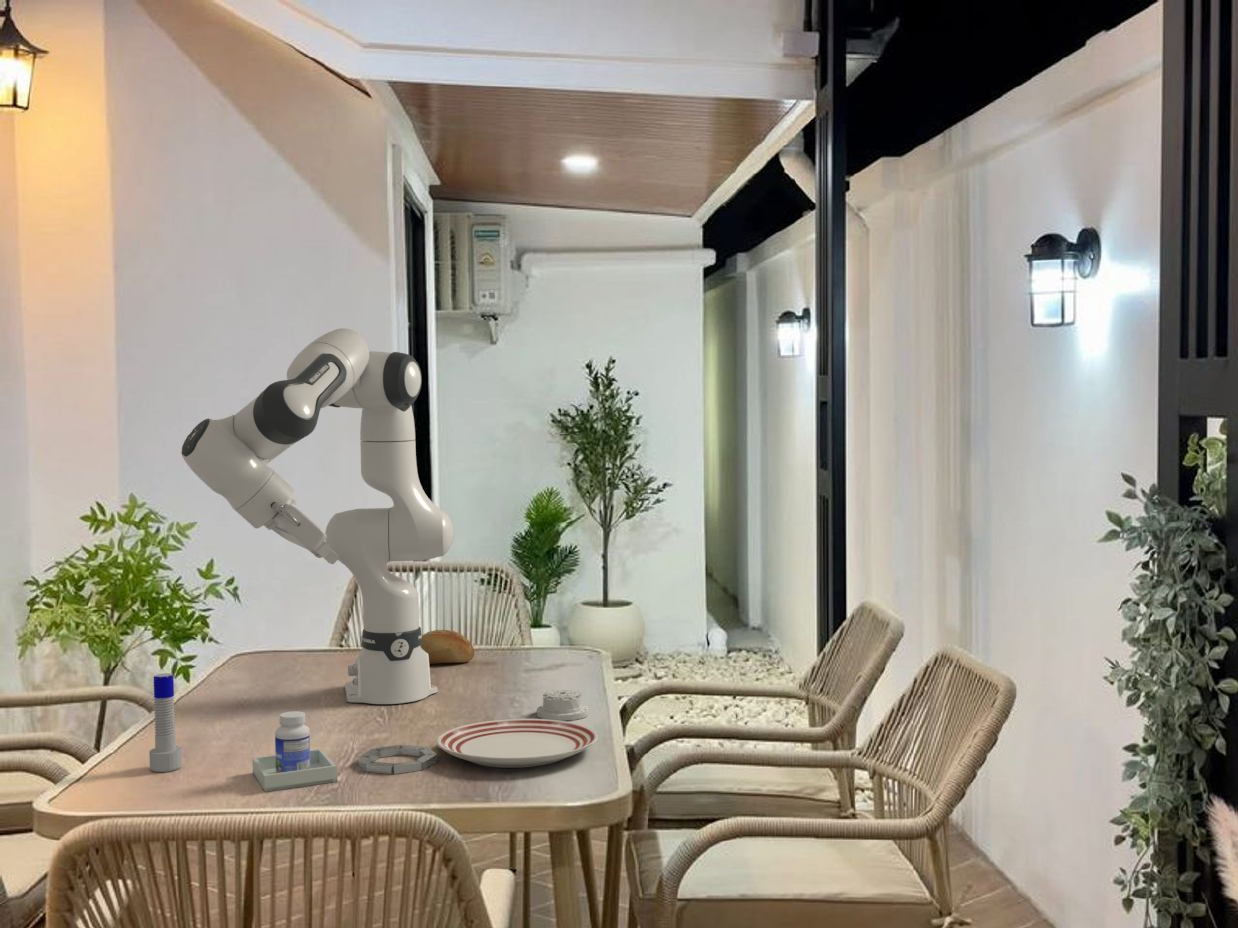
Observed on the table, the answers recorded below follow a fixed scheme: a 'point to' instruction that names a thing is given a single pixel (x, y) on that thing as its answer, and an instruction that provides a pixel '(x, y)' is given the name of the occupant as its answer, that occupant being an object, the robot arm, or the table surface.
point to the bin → (294, 772)
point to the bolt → (164, 727)
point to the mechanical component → (562, 706)
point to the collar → (370, 765)
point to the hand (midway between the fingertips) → (328, 557)
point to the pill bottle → (292, 743)
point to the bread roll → (446, 647)
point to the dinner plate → (517, 742)
